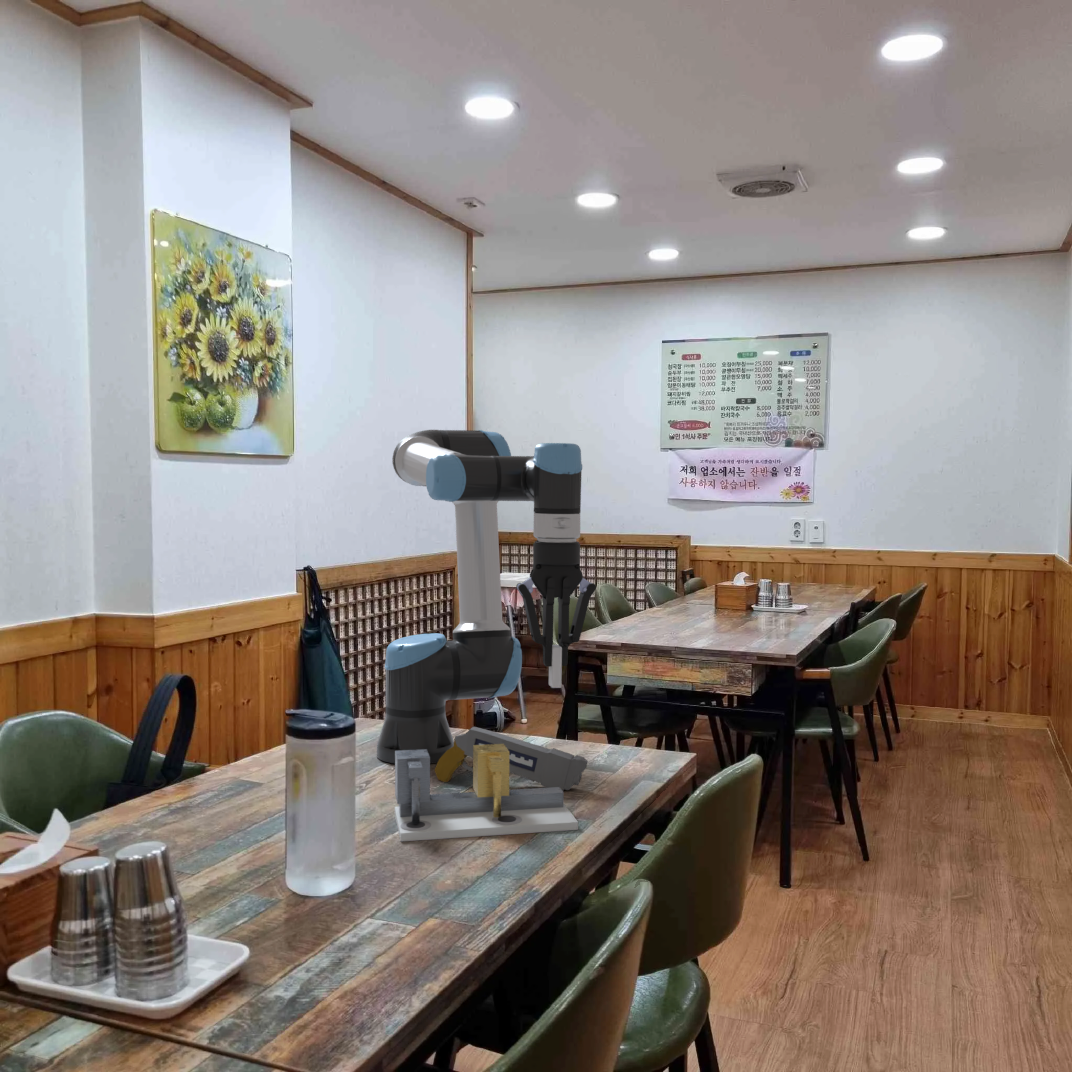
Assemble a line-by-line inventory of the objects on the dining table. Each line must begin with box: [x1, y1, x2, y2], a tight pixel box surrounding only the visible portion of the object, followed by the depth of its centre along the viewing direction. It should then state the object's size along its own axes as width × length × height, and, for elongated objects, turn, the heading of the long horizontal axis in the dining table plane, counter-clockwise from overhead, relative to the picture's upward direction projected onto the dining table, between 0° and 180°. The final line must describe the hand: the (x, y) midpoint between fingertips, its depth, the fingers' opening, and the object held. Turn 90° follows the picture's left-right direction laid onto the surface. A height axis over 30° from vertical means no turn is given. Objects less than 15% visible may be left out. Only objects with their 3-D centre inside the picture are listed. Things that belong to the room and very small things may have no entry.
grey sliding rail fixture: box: [394, 749, 565, 824], centre depth 158 cm, size 9×26×9 cm, turn 102°
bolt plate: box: [394, 803, 579, 842], centre depth 157 cm, size 13×27×1 cm, turn 102°
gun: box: [434, 726, 589, 792], centre depth 177 cm, size 3×25×15 cm, turn 76°
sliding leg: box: [472, 744, 510, 817], centre depth 158 cm, size 9×5×9 cm, turn 12°
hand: (554, 685), depth 162 cm, fingers closed
